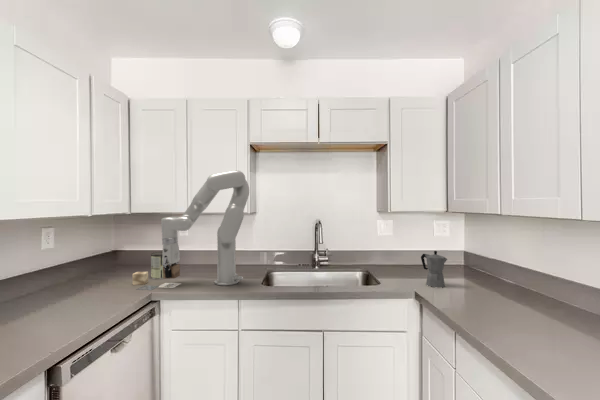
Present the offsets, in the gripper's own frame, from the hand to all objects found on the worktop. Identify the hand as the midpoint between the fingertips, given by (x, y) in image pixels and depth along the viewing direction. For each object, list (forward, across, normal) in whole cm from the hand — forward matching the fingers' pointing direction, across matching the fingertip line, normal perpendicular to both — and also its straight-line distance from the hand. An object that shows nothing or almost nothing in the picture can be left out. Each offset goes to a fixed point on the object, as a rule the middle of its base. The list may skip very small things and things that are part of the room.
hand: (171, 275), depth 175 cm
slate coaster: (+5, -6, +9) cm, 12 cm away
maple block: (+5, +2, +18) cm, 19 cm away
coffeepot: (+12, +17, -134) cm, 136 cm away
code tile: (+5, 0, +1) cm, 5 cm away
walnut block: (+1, 0, 0) cm, 1 cm away
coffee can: (+5, +16, +15) cm, 23 cm away
